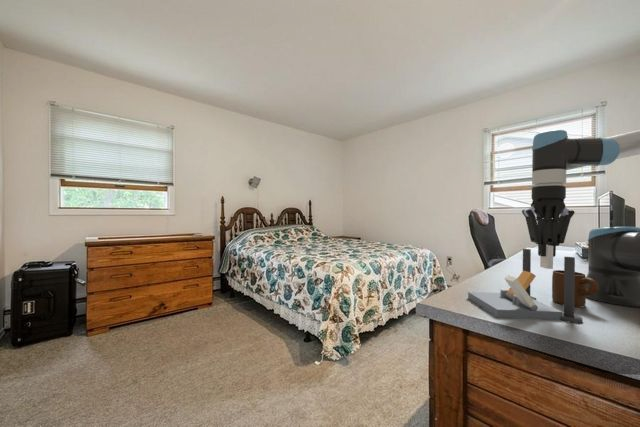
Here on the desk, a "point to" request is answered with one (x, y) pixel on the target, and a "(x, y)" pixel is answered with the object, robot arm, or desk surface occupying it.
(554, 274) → the mug
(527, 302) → the paddle
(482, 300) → the panel
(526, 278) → the paddle
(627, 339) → the desk surface
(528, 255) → the post
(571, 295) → the post
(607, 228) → the robot arm
